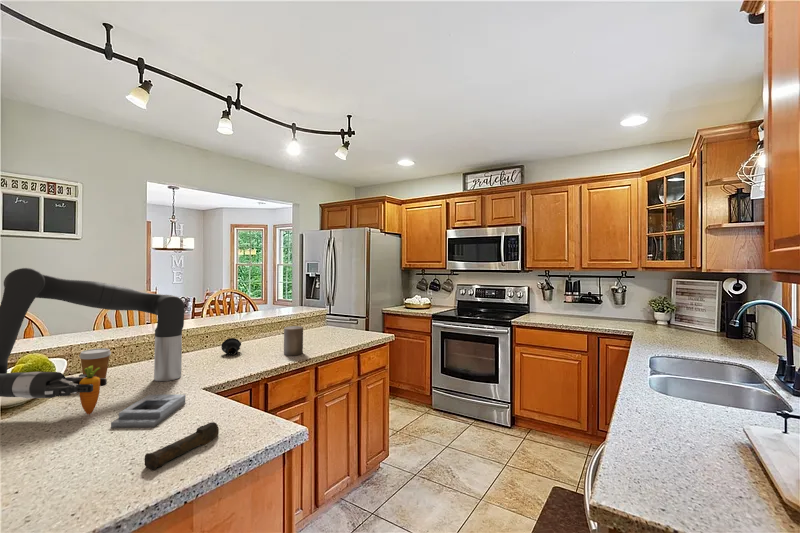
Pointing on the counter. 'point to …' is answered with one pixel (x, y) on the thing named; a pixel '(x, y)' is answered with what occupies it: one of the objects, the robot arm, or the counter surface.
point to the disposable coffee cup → (96, 360)
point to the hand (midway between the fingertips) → (99, 385)
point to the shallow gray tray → (149, 411)
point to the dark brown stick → (181, 446)
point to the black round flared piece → (231, 346)
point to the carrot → (90, 398)
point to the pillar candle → (293, 340)
